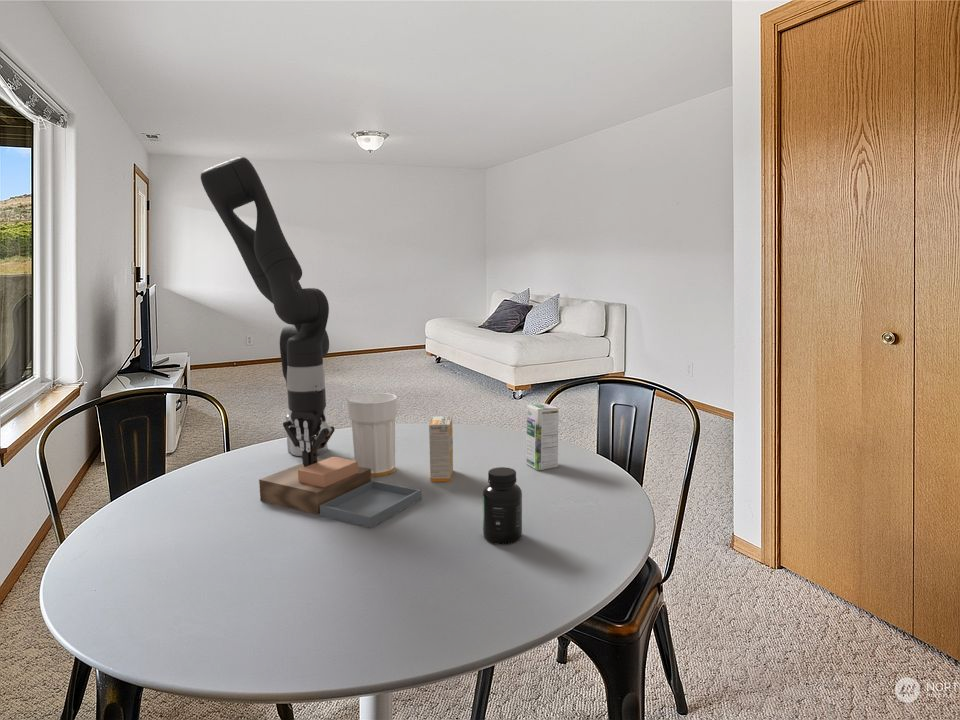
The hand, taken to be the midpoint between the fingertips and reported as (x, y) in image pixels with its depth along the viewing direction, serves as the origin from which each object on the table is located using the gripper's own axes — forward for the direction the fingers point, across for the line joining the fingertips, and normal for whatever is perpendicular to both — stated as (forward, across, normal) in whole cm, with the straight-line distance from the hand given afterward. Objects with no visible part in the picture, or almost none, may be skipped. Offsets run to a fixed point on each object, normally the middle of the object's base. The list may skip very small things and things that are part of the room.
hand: (310, 467), depth 133 cm
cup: (+6, +2, +18) cm, 20 cm away
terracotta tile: (+1, +5, 0) cm, 5 cm away
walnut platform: (+6, +1, 0) cm, 6 cm away
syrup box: (+6, +35, +40) cm, 53 cm away
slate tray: (+6, +16, +1) cm, 17 cm away
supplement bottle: (+6, +45, +1) cm, 46 cm away
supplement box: (+6, +18, +23) cm, 29 cm away
